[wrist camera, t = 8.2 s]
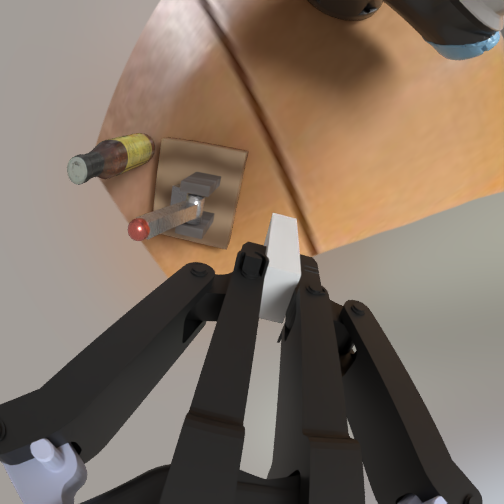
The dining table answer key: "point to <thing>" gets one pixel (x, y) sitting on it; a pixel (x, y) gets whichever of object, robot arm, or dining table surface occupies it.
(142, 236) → the lever
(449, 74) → the dining table surface
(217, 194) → the base
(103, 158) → the sauce bottle
